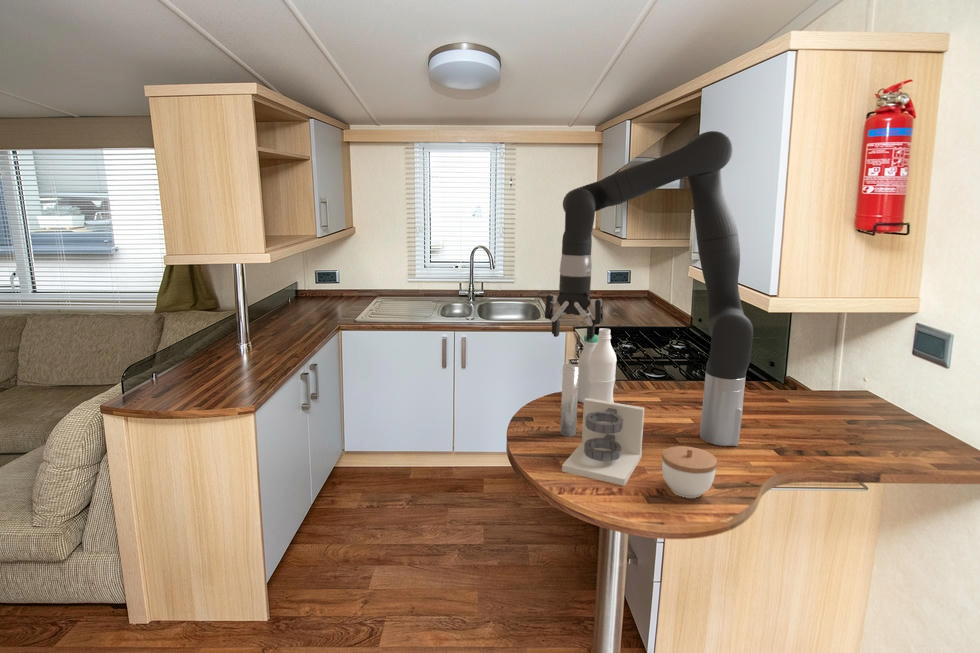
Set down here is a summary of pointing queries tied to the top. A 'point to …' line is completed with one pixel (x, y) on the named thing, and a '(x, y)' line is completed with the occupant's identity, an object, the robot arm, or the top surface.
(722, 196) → the robot arm
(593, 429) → the collars
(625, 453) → the tube holder
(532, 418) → the top surface
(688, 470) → the lidded jar
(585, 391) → the milk bottle
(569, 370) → the steel tube
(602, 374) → the water bottle
